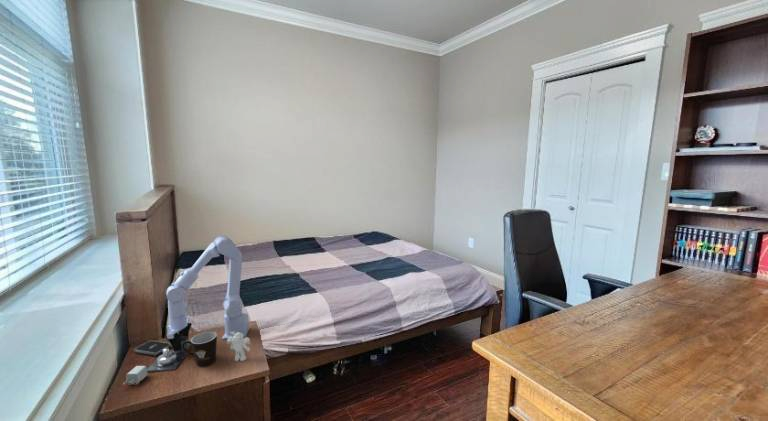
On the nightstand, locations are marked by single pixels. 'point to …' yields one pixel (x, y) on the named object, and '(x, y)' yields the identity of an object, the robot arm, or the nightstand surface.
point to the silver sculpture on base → (166, 361)
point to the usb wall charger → (136, 375)
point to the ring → (186, 346)
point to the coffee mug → (203, 348)
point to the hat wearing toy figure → (238, 345)
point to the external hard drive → (152, 348)
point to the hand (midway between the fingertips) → (180, 345)
